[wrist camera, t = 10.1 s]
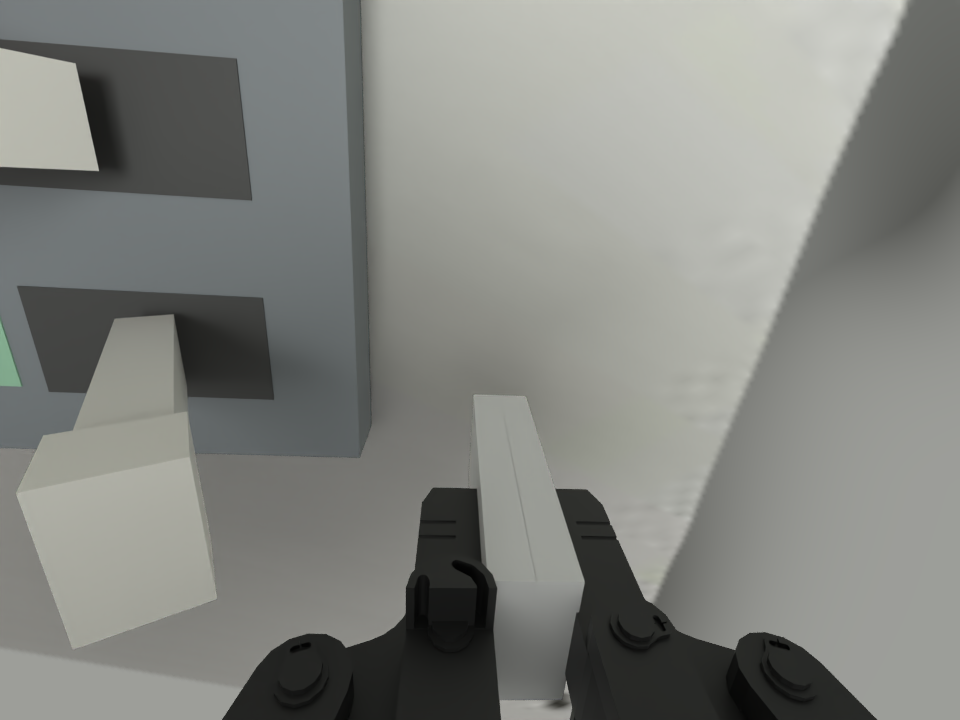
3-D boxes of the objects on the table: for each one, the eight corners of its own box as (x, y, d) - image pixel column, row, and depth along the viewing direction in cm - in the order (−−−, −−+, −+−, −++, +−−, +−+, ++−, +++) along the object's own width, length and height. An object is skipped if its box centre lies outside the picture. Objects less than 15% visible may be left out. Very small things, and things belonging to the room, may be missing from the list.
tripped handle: (124, 401, 18) (72, 650, 9) (102, 311, 16) (15, 493, 7) (196, 391, 19) (217, 599, 10) (181, 305, 18) (189, 456, 9)
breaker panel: (40, 414, 23) (-20, 448, 20) (-215, -392, 13) (-400, -550, 10) (371, 425, 24) (359, 458, 21) (352, -316, 14) (325, -440, 11)
